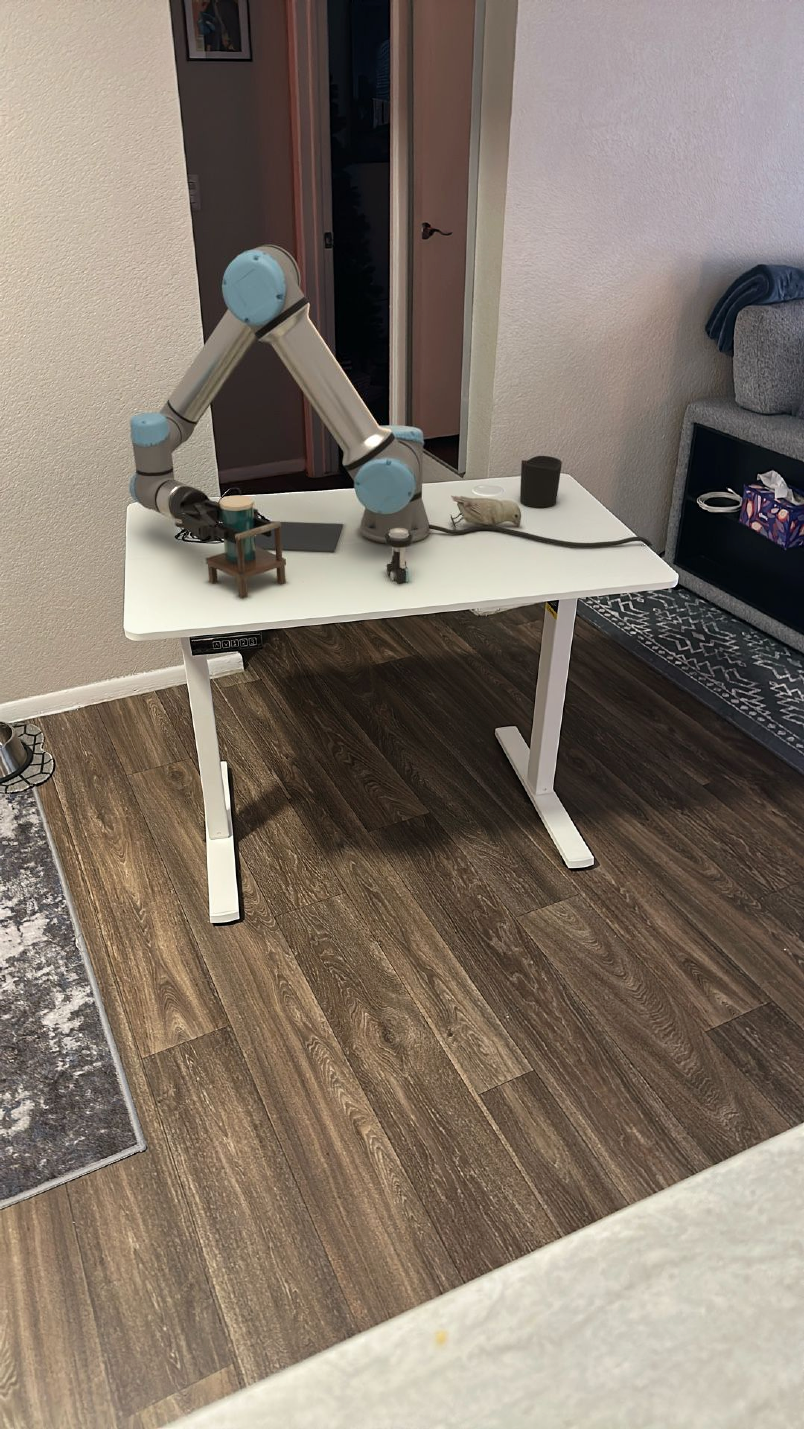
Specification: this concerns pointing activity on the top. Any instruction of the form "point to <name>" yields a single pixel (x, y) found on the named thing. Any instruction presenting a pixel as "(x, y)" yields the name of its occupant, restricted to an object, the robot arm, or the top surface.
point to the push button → (398, 553)
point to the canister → (239, 524)
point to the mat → (303, 537)
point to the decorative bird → (487, 511)
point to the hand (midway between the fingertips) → (255, 534)
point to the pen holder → (540, 481)
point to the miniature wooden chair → (251, 568)
